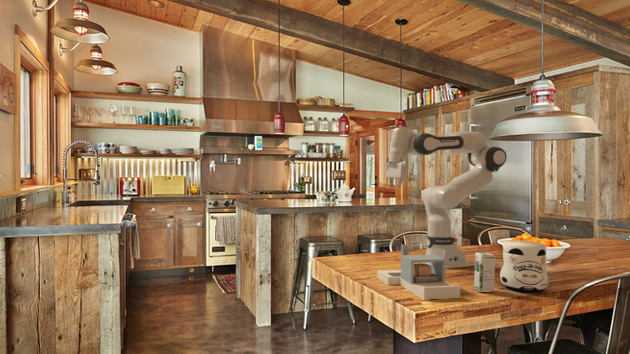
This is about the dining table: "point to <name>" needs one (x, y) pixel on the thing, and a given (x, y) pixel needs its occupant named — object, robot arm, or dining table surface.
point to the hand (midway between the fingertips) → (394, 187)
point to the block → (422, 270)
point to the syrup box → (484, 272)
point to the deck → (420, 286)
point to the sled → (419, 278)
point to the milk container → (524, 266)
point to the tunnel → (409, 261)
